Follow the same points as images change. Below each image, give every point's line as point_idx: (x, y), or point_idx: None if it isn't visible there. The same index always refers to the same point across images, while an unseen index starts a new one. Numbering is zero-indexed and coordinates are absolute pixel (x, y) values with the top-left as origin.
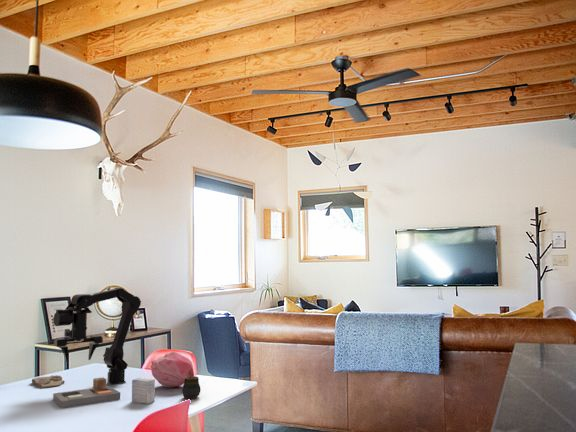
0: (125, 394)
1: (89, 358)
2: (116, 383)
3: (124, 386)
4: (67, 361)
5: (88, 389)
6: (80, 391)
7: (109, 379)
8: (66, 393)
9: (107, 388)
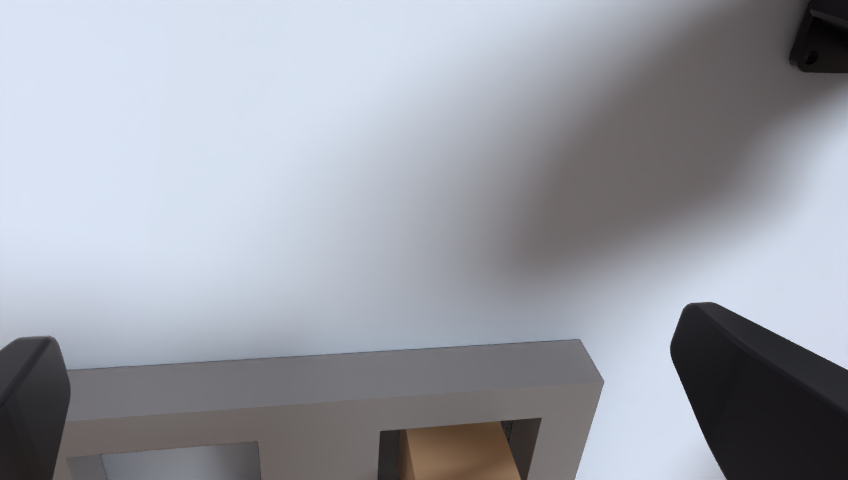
0: (626, 454)
1: (690, 399)
2: (843, 70)
3: (808, 214)
4: (56, 429)
5: (377, 425)
6: (282, 461)
7: (839, 21)
8: (137, 444)
9: (537, 456)
